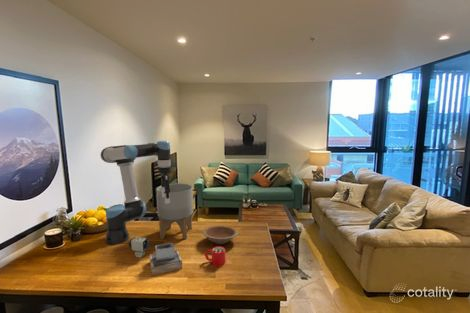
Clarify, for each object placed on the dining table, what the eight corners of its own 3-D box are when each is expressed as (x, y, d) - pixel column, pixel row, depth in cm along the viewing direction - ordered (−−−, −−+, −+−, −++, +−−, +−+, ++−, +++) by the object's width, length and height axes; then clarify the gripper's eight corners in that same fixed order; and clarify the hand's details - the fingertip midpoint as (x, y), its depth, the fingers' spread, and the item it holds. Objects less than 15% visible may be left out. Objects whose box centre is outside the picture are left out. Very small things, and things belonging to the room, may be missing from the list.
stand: (149, 262, 152) (149, 254, 151) (177, 256, 158) (177, 248, 157) (152, 275, 139) (151, 266, 138) (182, 268, 145) (182, 260, 145)
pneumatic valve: (146, 259, 155) (145, 240, 153) (129, 257, 157) (127, 238, 156) (151, 254, 160) (150, 236, 159) (134, 252, 163) (133, 234, 161)
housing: (173, 253, 153) (172, 242, 152) (175, 258, 147) (174, 247, 146) (155, 257, 149) (154, 245, 148) (156, 262, 143) (156, 250, 142)
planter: (182, 223, 207) (180, 181, 202) (200, 233, 189) (199, 187, 184) (152, 232, 190) (150, 187, 185) (169, 244, 172) (167, 194, 167)
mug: (206, 258, 156) (206, 245, 155) (226, 258, 155) (226, 246, 154) (203, 265, 148) (203, 252, 147) (224, 266, 148) (224, 253, 146)
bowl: (244, 243, 174) (244, 232, 173) (213, 254, 161) (213, 241, 160) (226, 231, 193) (225, 220, 192) (196, 239, 180) (196, 228, 179)
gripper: (155, 163, 168) (157, 195, 172) (160, 170, 146) (162, 207, 149) (167, 162, 171) (168, 193, 175) (174, 169, 149) (175, 205, 152)
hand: (165, 200), depth 162 cm, fingers open, 13 cm apart
